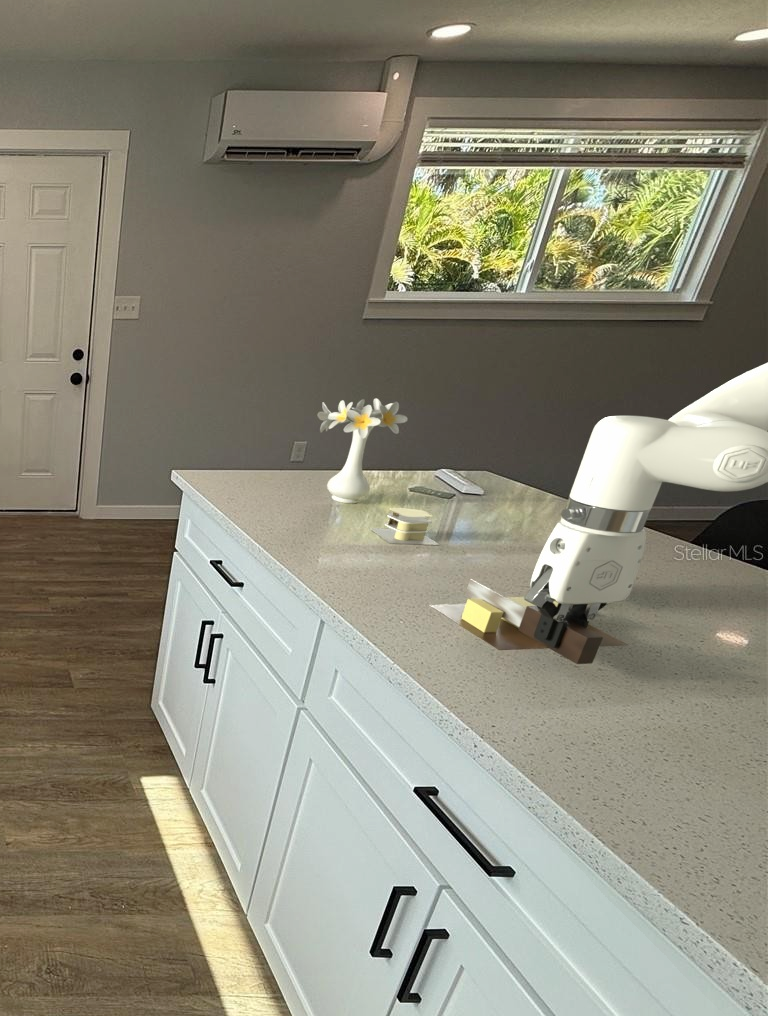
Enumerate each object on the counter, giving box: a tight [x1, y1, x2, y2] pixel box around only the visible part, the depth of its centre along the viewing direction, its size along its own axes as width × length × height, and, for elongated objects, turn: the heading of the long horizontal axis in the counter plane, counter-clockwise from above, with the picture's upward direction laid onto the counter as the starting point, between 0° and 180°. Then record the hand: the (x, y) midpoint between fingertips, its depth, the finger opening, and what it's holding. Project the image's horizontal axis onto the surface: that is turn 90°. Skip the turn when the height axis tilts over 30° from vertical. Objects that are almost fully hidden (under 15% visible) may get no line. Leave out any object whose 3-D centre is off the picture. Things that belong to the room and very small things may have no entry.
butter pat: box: [462, 598, 504, 633], centre depth 97 cm, size 2×4×4 cm, turn 3°
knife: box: [464, 578, 603, 665], centre depth 92 cm, size 20×2×4 cm, turn 4°
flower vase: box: [317, 397, 409, 504], centre depth 154 cm, size 13×18×25 cm
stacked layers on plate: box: [369, 507, 441, 546], centre depth 135 cm, size 10×9×6 cm
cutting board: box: [428, 603, 629, 651], centre depth 98 cm, size 20×14×2 cm
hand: (555, 641), depth 87 cm, fingers closed on knife, 2 cm apart
